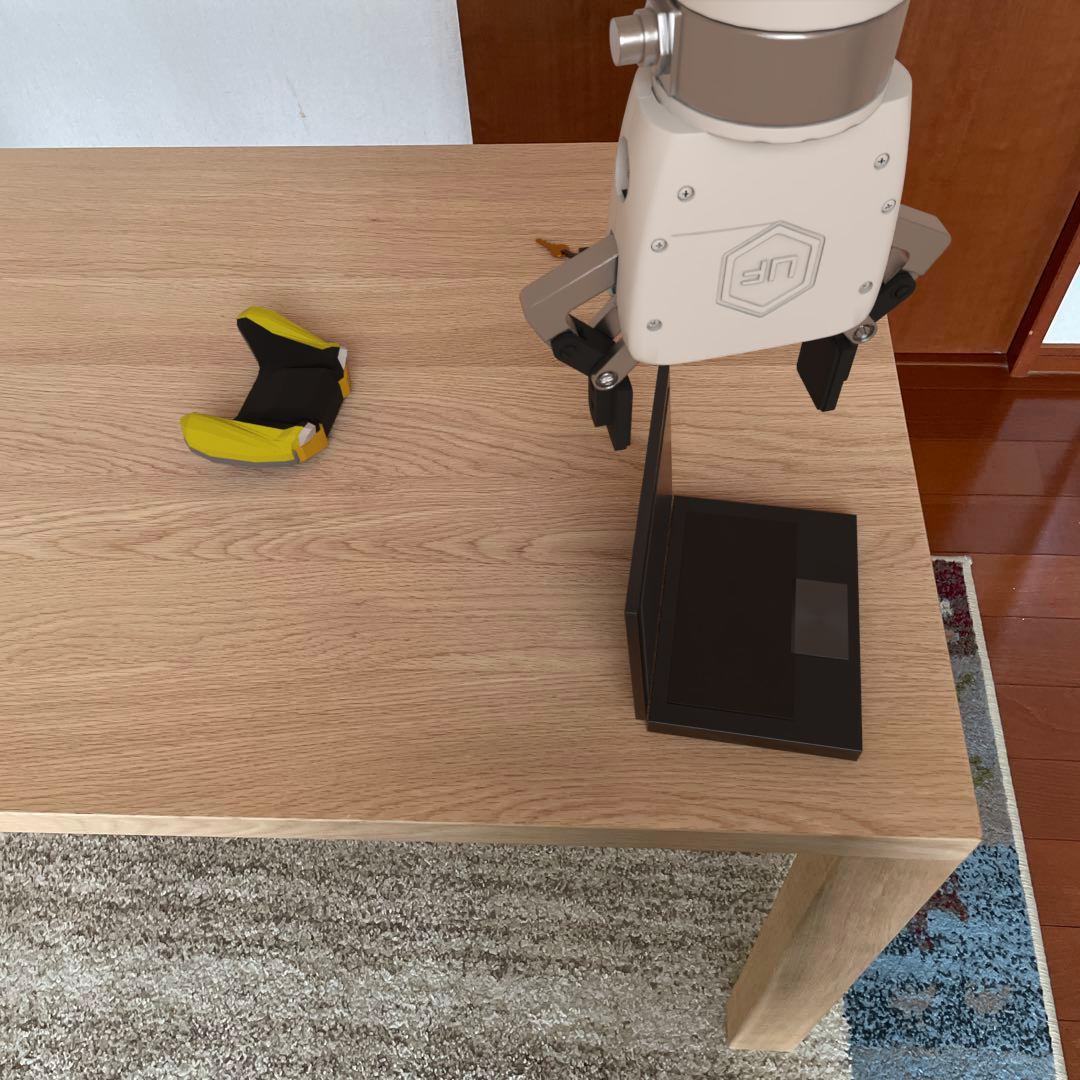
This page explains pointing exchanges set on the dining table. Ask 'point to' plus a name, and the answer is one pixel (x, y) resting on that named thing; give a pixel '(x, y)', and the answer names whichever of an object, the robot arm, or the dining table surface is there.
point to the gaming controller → (276, 398)
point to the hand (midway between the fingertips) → (714, 408)
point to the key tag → (559, 249)
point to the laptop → (760, 629)
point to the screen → (650, 547)
